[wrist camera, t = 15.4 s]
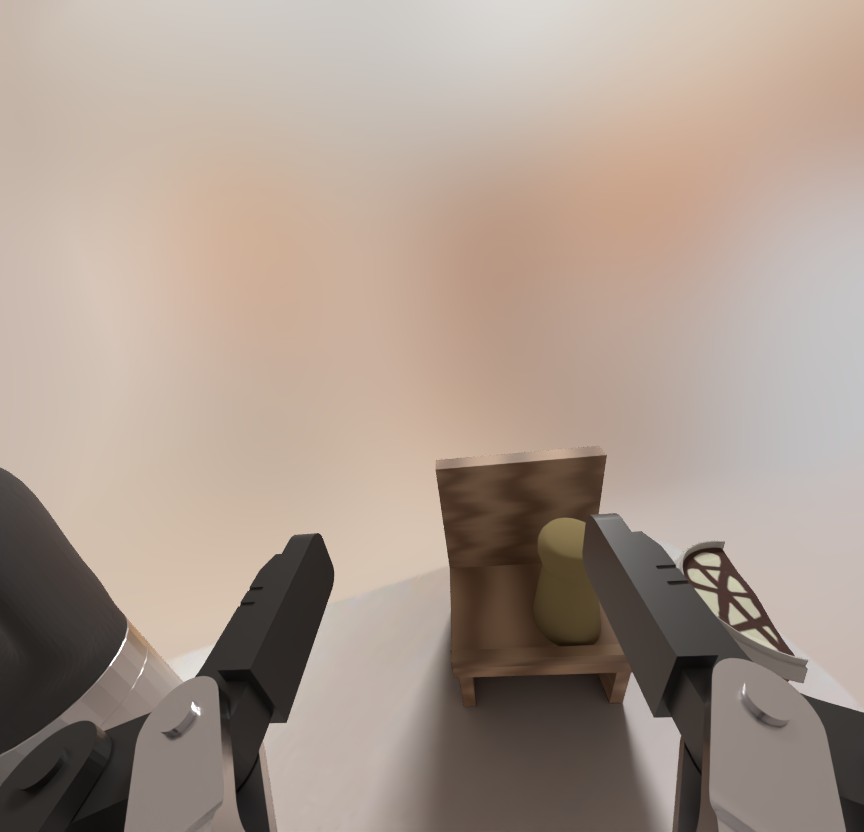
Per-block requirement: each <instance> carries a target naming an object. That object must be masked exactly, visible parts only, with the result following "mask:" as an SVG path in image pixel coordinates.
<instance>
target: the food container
mask: <svg viewBox="0 0 864 832" xmlns="http://www.w3.org/2000/svg"><path fill="white" fill-rule="evenodd" d="M724 544H725V542H724V541H706V542H701V543H698V544H695V545H693V546H692V547H690V548H688V549H687V550H685V551H684V552H683V553H682V554H681V555H680V556H679V558H678V559H677V560H676V561H675V564H676V568H679V569H680V571H681V572H682V573H683V575H684V576H685V577H686V578H687V580H688V583H689V584H691V585H692V586H693V587H694V589H695V590H696V591H697V592H698V594H699V595H700V596H701V598H702V599H703V600H704V601H705V603H706V604H707V605H708V607H709V608H710V609H711V610H712V612H713V613H714V614H715V616H716V617H717V618H718V619H719V621H720V622H721V623H722V625H723V626H724V627H725V628H726V630H727V631H728V632H729V633H730V635H731V636H732V637H733V639H734V640H735V641H736V642H737V644H738V645H739V646H740V648H741V649H742V650H743V651H744V652H745V654H746V655H747V656H748V657H749V658H750V659H751V660H752V661H753V662H754V663H756V664H759V665H761V666H763V667H765V668H767V669H769V670H771V671H772V672H774V673H775V674H777V675H778V676H780V677H781V678H783V679H784V680H785V681H787V682H788V681H789V680H791V681H795V682H799V683H804V679H805V676H806V673H807V670H808V669H807V668H806V664H807V662H808V659H803V658H799V657H795V656H794V654H793V652H792V651H791V650H790V649H789V648H788V646H787V645H786V644H785V642H784V641H783V639H782V638H781V636H780V635H779V633H778V632H777V630H776V629H775V627H774V625H773V624H772V622H771V621H770V619H769V617H768V615H767V613H766V612H765V610H764V608H763V606H762V604H761V603H760V601H759V599H758V598H757V596H756V595H755V593H754V592H753V590H752V589H751V588H750V587H749V585H748V584H747V583H746V582H745V581H744V580H743V578H742V577H741V576H740V574H739V573H738V572H737V570H736V569H735V567H734V566H733V565H732V563H731V562H730V560H729V559H728V557H727V556H726V554H725V553H724V551H723V548H724Z"/></svg>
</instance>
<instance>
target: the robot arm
mask: <svg viewBox="0 0 864 832" xmlns="http://www.w3.org/2000/svg"><path fill="white" fill-rule="evenodd" d="M582 556H583V563H584V567H585V570H586V573H587V575H588V578H589V580H590V582H591V584H592V586H593V588H594V591H595V593H596V595H597V597H598V599H599V601H600V603H601V605H602V608H603V610H604V612H605V614H606V616H607V618H608V620H609V623H610V625H611V627H612V629H613V631H614V633H615V635H616V638H617V640H618V642H619V644H620V646H621V648H622V650H623V652H624V655H625V657H626V659H627V661H628V663H629V665H630V667H631V670H632V672H633V674H634V676H635V678H636V680H637V682H638V685H639V687H640V689H641V691H642V693H643V695H644V697H645V699H646V702H647V704H648V706H649V708H650V710H651V712H652V714H653V717H672V718H673V720H674V722H675V724H676V726H677V728H678V730H679V732H680V734H681V739H680V747H679V759H678V770H677V782H676V794H675V806H674V818H673V830H672V832H864V713H863V712H859V711H856V710H852V709H849V708H845V707H842V706H838V705H835V704H832V703H828V702H825V701H821V700H818V699H815V698H812V697H809V696H806V695H804V694H801V693H799V692H798V691H797V690H796V689H795V688H794V687H793V686H792V685H790V684H789V683H788V682H787V681H785V680H784V679H783V678H781V677H780V676H778V675H777V674H775V673H774V672H772V671H771V670H769V669H767V668H765V667H763V666H761V665H759V664H756V663H754V662H753V661H752V660H751V659H750V658H749V657H748V656H747V655H746V654H745V652H744V651H743V650H742V649H741V648H740V646H739V645H738V644H737V642H736V641H735V640H734V639H733V637H732V636H731V635H730V633H729V632H728V631H727V630H726V628H725V627H724V626H723V625H722V623H721V622H720V621H719V619H718V618H717V617H716V616H715V614H714V613H713V612H712V610H711V609H710V608H709V607H708V605H707V604H706V603H705V601H704V600H703V599H702V598H701V596H700V595H699V594H698V592H697V591H696V590H695V589H694V587H693V586H692V585H691V584H689V583H688V580H687V578H686V577H685V576H684V575H683V573H682V572H681V571H680V569H679V568H676V564H675V563H674V562H673V560H672V559H671V558H670V557H669V555H668V554H667V553H666V551H665V550H664V549H663V548H662V546H661V545H659V544H658V543H656V542H655V541H654V540H652V539H651V538H650V537H648V536H647V535H646V534H644V533H643V532H642V531H641V532H631V531H630V529H629V528H628V526H627V525H626V524H625V522H624V521H623V519H622V518H621V517H620V516H619V515H618V514H616V513H613V514H598V515H588V516H587V518H586V524H585V533H584V541H583V550H582ZM333 582H334V568H333V565H332V562H331V559H330V557H329V554H328V551H327V549H326V546H325V544H324V541H323V538H322V536H321V535H320V534H319V533H317V534H303V535H294V536H293V537H291V539H290V540H289V542H288V544H287V545H286V547H285V549H284V551H283V553H282V554H276V555H275V556H274V557H273V558H272V559H271V560H270V561H269V562H268V563H267V564H266V565H265V566H264V567H263V568H262V569H261V570H260V571H259V573H258V574H257V576H256V578H255V579H254V581H253V583H252V584H251V586H250V590H249V591H248V592H247V593H246V595H245V596H244V598H243V599H242V601H241V605H240V607H238V608H237V610H236V612H235V613H234V615H233V616H232V618H231V620H230V621H229V623H228V625H227V626H226V628H225V630H224V631H223V633H222V635H221V636H220V638H219V640H218V641H217V643H216V645H215V646H214V648H213V650H212V651H211V653H210V655H209V656H208V658H207V660H206V661H205V663H204V665H203V666H202V668H201V669H200V671H199V673H198V674H197V675H196V676H195V678H192V679H190V680H187V681H186V682H183V681H182V680H181V679H180V678H179V676H178V675H177V674H176V673H175V672H174V671H173V670H172V668H171V667H170V666H169V665H168V664H167V663H166V662H165V661H164V659H163V658H162V657H161V656H160V655H159V654H158V653H157V651H156V650H155V649H154V648H153V647H152V646H151V645H150V643H149V642H148V641H147V640H146V639H145V638H144V637H143V636H142V635H141V634H140V632H139V631H138V630H137V629H136V628H135V627H134V626H133V625H132V623H131V622H130V621H129V620H128V619H127V618H126V617H125V615H124V614H123V613H122V612H121V611H120V610H119V608H117V606H116V605H115V604H114V602H113V601H112V599H111V598H110V596H109V594H108V593H107V591H106V590H105V588H104V586H103V585H102V583H101V582H100V581H99V579H98V578H97V577H96V575H95V574H94V573H93V572H92V571H91V569H90V568H89V567H88V566H87V565H86V563H85V562H84V561H83V560H82V559H81V557H80V556H79V554H78V553H77V552H76V550H75V549H74V548H73V546H72V545H71V544H70V542H69V541H68V539H67V538H66V537H65V535H64V534H63V532H62V531H61V530H60V528H59V527H58V525H57V524H56V522H55V521H54V519H53V518H52V517H51V515H50V514H49V512H48V511H47V510H46V508H45V507H44V506H43V504H42V503H41V502H40V501H39V499H38V498H37V497H36V496H35V494H34V493H33V492H32V491H31V490H30V489H29V488H28V487H27V486H26V485H25V484H24V483H23V482H22V481H20V480H19V479H18V478H16V477H15V476H13V475H12V474H11V473H10V472H8V471H6V470H4V469H2V468H0V832H277V826H276V819H275V812H274V806H273V799H272V793H271V786H270V779H269V773H268V766H267V760H266V753H265V747H264V743H263V739H264V736H265V733H266V731H267V728H268V726H269V723H287V720H288V717H289V714H290V711H291V708H292V705H293V702H294V699H295V696H296V693H297V690H298V687H299V684H300V681H301V679H302V676H303V673H304V670H305V667H306V664H307V661H308V658H309V655H310V652H311V649H312V646H313V643H314V640H315V637H316V634H317V632H318V629H319V626H320V623H321V620H322V617H323V614H324V611H325V608H326V605H327V602H328V599H329V596H330V593H331V590H332V587H333Z"/></svg>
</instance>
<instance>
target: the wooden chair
mask: <svg viewBox="0 0 864 832" xmlns="http://www.w3.org/2000/svg"><path fill="white" fill-rule="evenodd" d="M606 456H607V455H606V454H605V453H604V451H603V450H602V449H601V448H600V447H599V446H593V447H582V448H571V449H559V450H547V451H536V452H524V453H513V454H502V455H490V456H480V457H467V458H456V459H445V460H436V475H437V482H438V489H439V496H440V503H441V510H442V517H443V524H444V531H445V538H446V545H447V552H448V558H449V566H450V593H451V632H452V651H451V663H452V669H453V675H454V678H459V679H460V685H461V692H462V698H463V704H464V707H468V706H476V700H475V687H474V677H494V676H526V675H558V674H590V673H598V674H599V677H600V679H601V682H602V685H603V687H604V690H605V692H606V695H607V698H608V700H609V703H623V699H624V696H625V692H626V689H627V685H628V681H629V678H630V674H631V672H632V670H631V667H630V665H629V663H628V661H627V659H626V657H625V655H624V652H623V650H622V648H621V646H620V644H619V642H618V640H617V638H616V635H615V633H614V631H613V629H612V627H611V625H610V623H609V620H608V618H607V616H606V614H605V612H604V610H603V608H602V605H601V603H600V601H599V606H600V618H601V632H600V636H599V639H598V640H597V641H596V642H595V643H594V645H582V646H557V645H556V644H554V643H552V642H550V641H549V640H548V639H547V638H546V637H545V636H544V635H543V634H542V633H541V631H540V629H539V628H538V626H537V624H536V623H535V619H534V615H533V602H534V598H535V594H536V589H537V585H538V581H539V576H540V572H541V568H542V561H541V559H540V556H539V553H538V537H539V534H540V532H541V530H542V528H543V527H544V526H545V525H547V524H548V523H549V522H550V521H552V520H555V519H558V518H573V519H577V520H580V521H583V522H585V523H586V518H587V516H588V515H598V514H599V506H600V499H601V492H602V485H603V477H604V470H605V463H606Z"/></svg>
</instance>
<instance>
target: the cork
mask: <svg viewBox="0 0 864 832" xmlns="http://www.w3.org/2000/svg"><path fill="white" fill-rule="evenodd" d="M585 524H586V523H585V522H583V521H580V520H577V519H573V518H558V519H555V520H552V521H550V522H549V523H548V524H547V525H545V526H544V527H543V528H542V530H541V532H540V534H539V537H538V553H539V556H540V559H541V561H542V568H541V572H540V576H539V581H538V585H537V589H536V594H535V598H534V602H533V615H534V619H535V623H536V624H537V626H538V628H539V629H540V631H541V633H542V634H543V635H544V636H545V637H546V638H547V639H548V640H549V641H550V642H552V643H554V644H556V645H557V646H582V645H594V643H595V642H596V641H597V640H598V639H599V636H600V632H601V618H600V606H599V599H598V597H597V595H596V593H595V591H594V588H593V586H592V584H591V582H590V580H589V578H588V575H587V573H586V570H585V567H584V563H583V556H582V550H583V541H584V533H585Z"/></svg>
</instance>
